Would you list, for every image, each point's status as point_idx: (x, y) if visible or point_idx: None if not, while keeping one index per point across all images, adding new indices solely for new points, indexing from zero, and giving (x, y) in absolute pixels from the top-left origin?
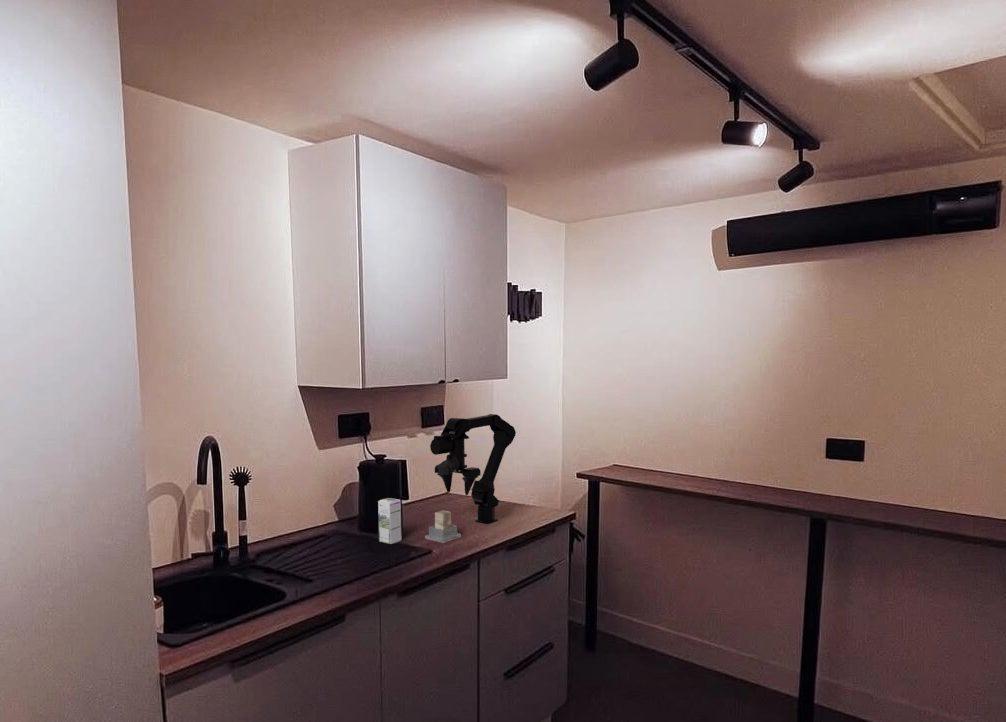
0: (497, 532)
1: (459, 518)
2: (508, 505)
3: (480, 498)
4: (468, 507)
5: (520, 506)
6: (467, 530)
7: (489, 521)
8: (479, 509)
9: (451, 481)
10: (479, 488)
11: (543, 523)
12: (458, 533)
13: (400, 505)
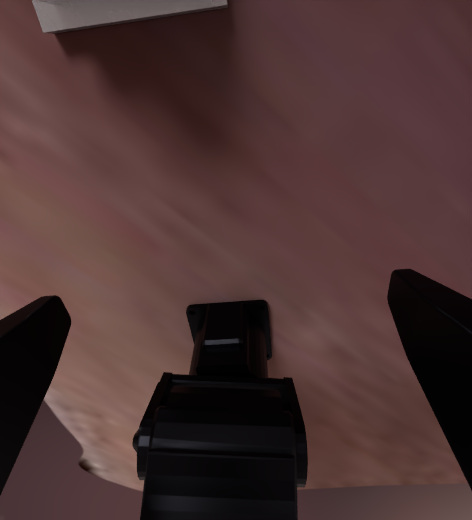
0: (34, 246)
1: (376, 292)
2: (330, 474)
3: (182, 401)
4: None
5: None
6: (162, 171)
7: (196, 325)
8: (234, 350)
9: (465, 473)
10: (201, 487)
11: (60, 411)
12: (68, 29)
13: None
